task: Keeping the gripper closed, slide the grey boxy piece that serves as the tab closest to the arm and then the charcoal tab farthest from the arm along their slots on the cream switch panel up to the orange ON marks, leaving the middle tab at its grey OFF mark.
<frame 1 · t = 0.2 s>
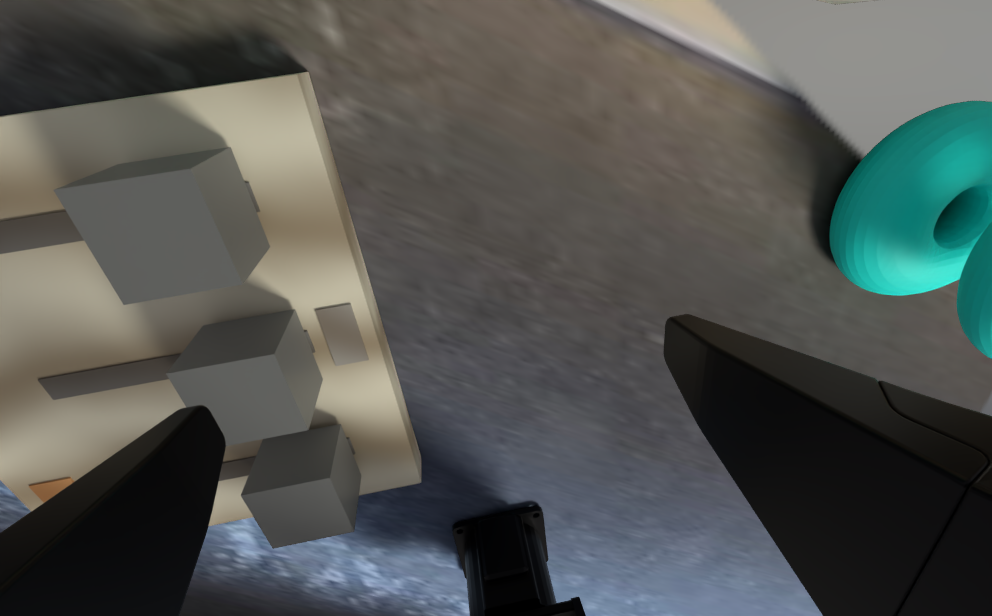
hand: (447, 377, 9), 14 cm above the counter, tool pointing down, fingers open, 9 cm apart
grey boxy piece: (307, 484, 24), point 4 cm above the counter, slide at 0.0 cm
tab middle: (254, 376, 20), point 4 cm above the counter, slide at 0.0 cm
donuts: (901, 197, 25), on the counter
switch panel: (178, 344, 23), on the counter
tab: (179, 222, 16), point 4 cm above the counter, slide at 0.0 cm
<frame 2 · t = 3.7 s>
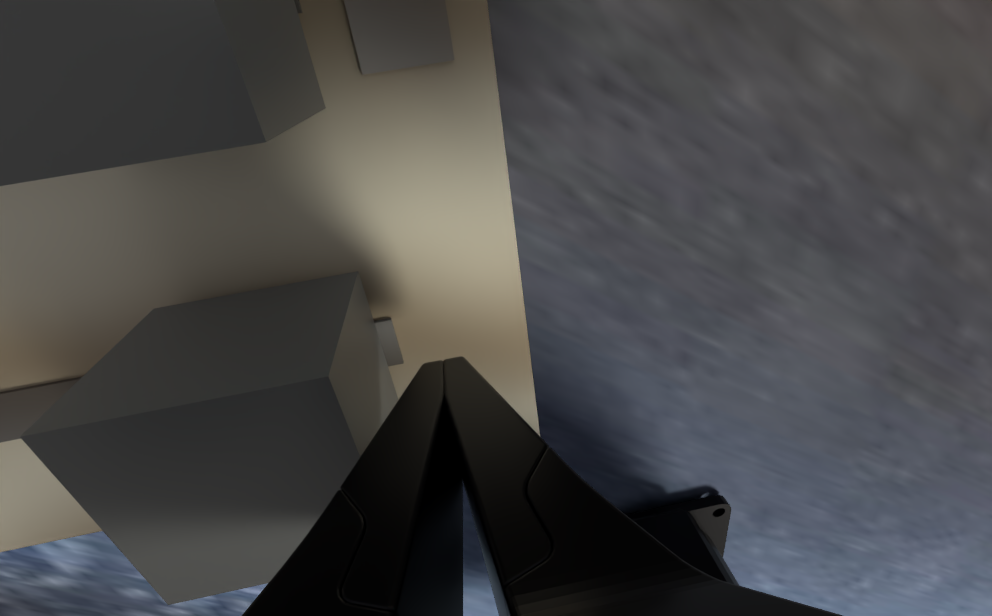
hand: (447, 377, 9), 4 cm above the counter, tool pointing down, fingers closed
grey boxy piece: (270, 425, 9), point 4 cm above the counter, slide at 0.3 cm, touching gripper
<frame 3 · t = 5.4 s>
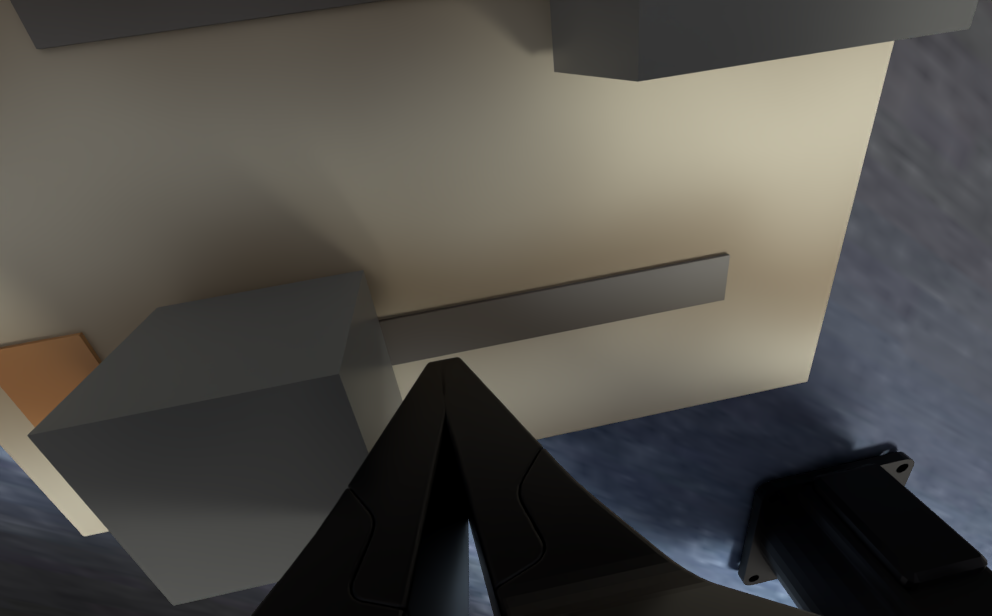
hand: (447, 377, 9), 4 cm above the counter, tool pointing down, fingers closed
grey boxy piece: (275, 424, 9), point 4 cm above the counter, slide at 8.1 cm, touching gripper
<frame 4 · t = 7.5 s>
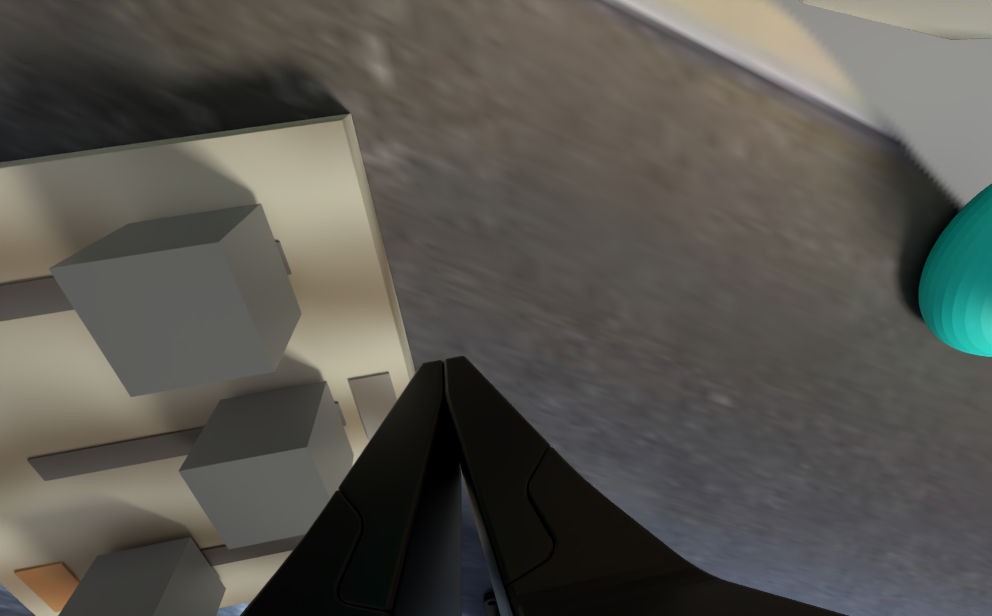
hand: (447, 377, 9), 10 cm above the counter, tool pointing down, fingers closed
grey boxy piece: (145, 612, 20), point 4 cm above the counter, slide at 8.1 cm
tab middle: (279, 461, 17), point 4 cm above the counter, slide at 0.0 cm
switch panel: (189, 412, 20), on the counter
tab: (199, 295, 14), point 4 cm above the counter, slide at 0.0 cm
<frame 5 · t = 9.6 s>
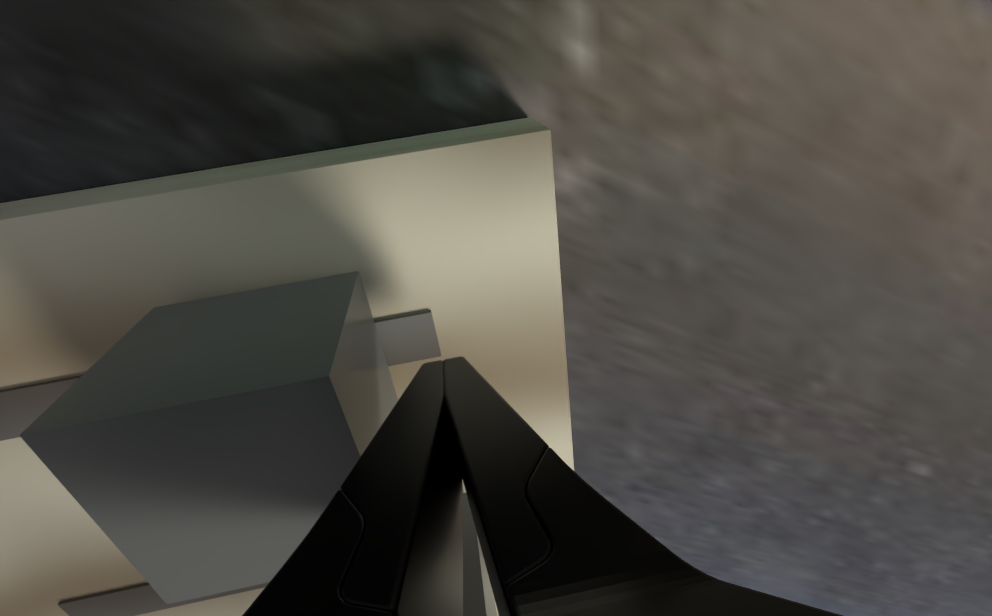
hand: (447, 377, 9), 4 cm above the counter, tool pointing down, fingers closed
tab middle: (415, 613, 12), point 4 cm above the counter, slide at 0.0 cm
switch panel: (267, 516, 15), on the counter
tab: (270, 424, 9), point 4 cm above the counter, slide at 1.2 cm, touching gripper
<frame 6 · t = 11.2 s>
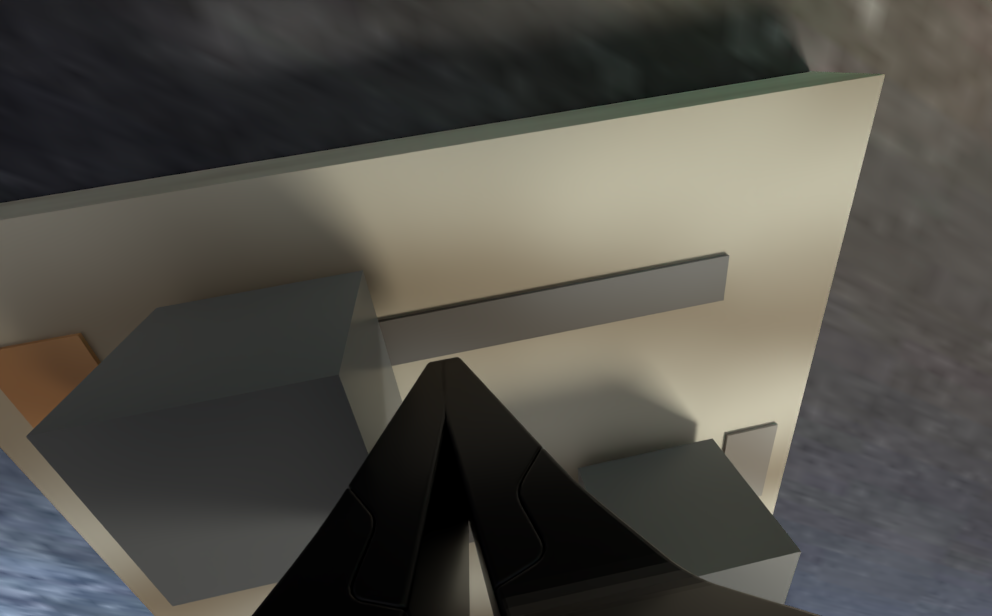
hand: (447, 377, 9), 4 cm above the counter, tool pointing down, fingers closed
tab middle: (671, 552, 13), point 4 cm above the counter, slide at 0.0 cm
switch panel: (473, 473, 16), on the counter
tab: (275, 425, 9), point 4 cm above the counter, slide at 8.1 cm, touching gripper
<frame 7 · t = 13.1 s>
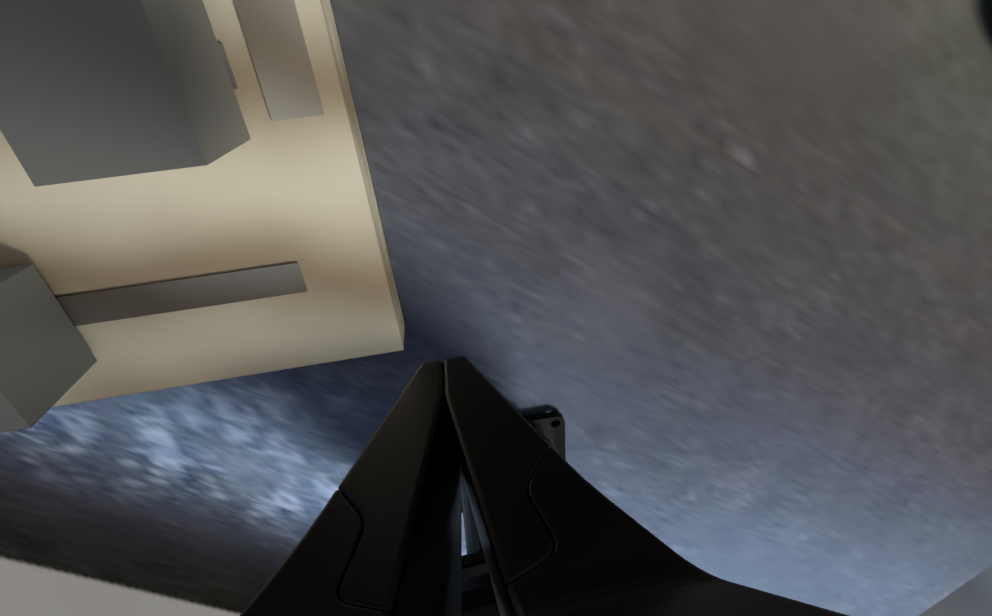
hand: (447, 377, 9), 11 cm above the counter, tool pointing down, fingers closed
tab middle: (120, 79, 12), point 4 cm above the counter, slide at 0.0 cm
switch panel: (27, 87, 15), on the counter
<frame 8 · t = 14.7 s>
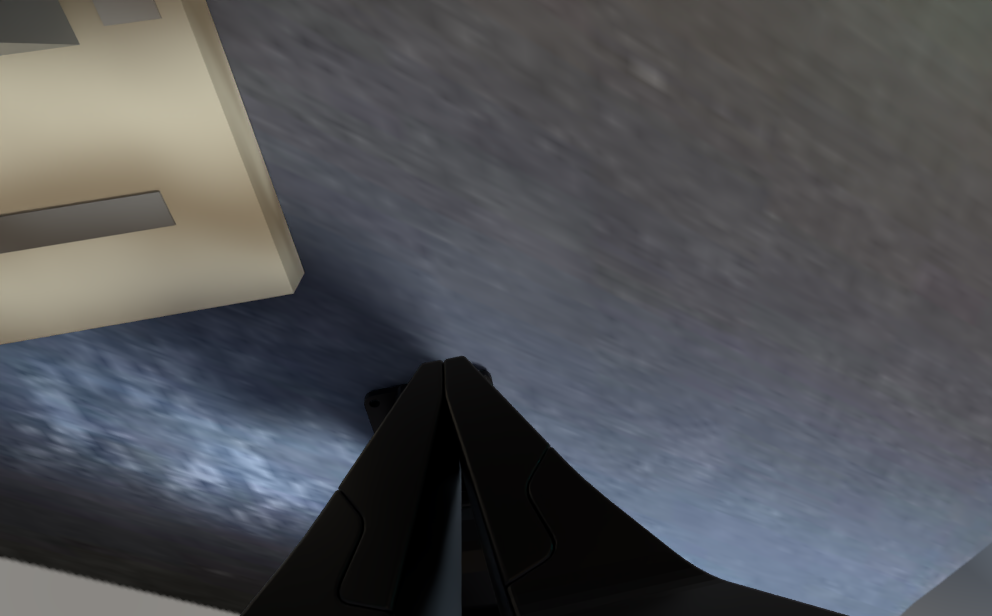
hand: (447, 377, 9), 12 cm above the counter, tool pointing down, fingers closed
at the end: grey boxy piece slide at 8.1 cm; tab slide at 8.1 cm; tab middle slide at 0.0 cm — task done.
